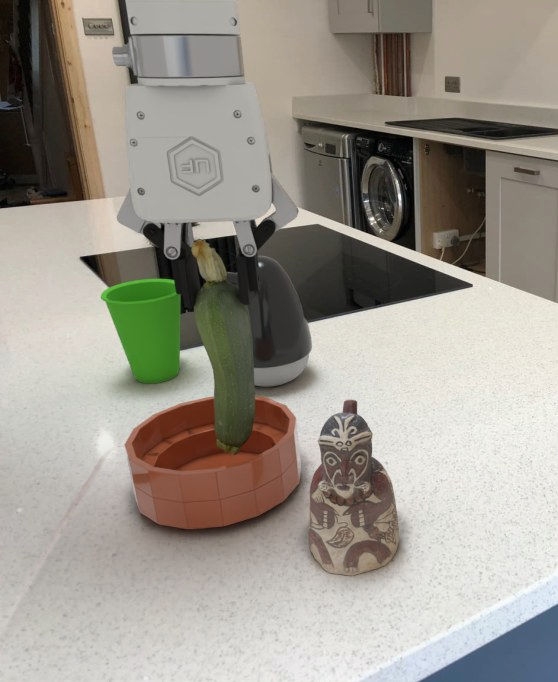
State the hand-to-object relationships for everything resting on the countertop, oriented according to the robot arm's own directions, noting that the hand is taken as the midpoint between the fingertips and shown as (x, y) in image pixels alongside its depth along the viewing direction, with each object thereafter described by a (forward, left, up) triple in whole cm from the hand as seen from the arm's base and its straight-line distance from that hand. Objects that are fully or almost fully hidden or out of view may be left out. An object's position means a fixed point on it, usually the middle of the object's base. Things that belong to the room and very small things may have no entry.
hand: (220, 298), depth 60 cm
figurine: (+10, -10, -18) cm, 23 cm away
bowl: (-2, 0, -18) cm, 18 cm away
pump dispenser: (0, +24, -18) cm, 30 cm away
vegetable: (0, 0, -15) cm, 15 cm away
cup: (-14, +27, -18) cm, 35 cm away
